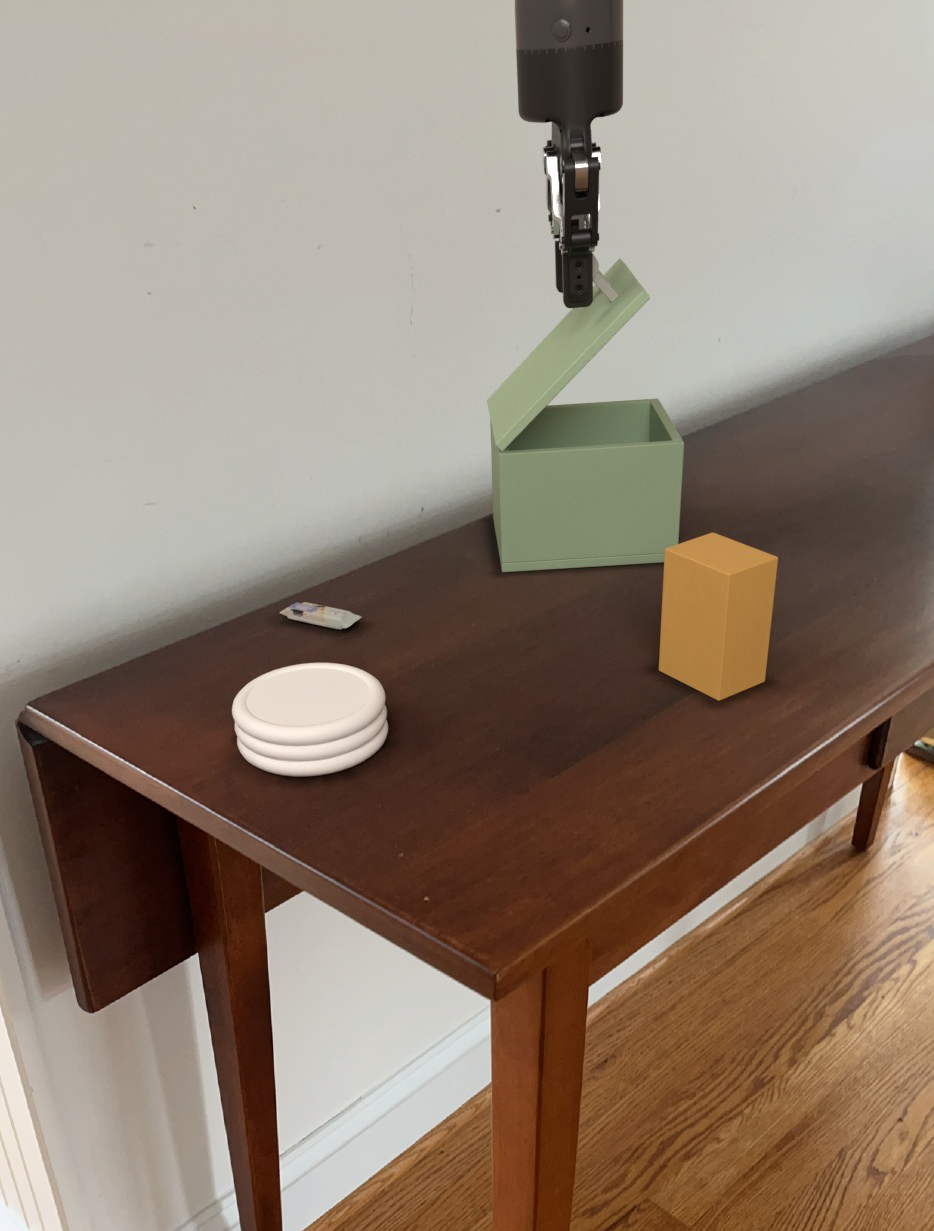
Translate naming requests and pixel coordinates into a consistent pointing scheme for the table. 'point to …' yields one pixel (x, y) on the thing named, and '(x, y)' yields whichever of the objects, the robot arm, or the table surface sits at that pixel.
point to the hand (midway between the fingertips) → (573, 297)
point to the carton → (716, 614)
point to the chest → (588, 487)
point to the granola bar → (320, 615)
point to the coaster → (310, 719)
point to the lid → (565, 352)
